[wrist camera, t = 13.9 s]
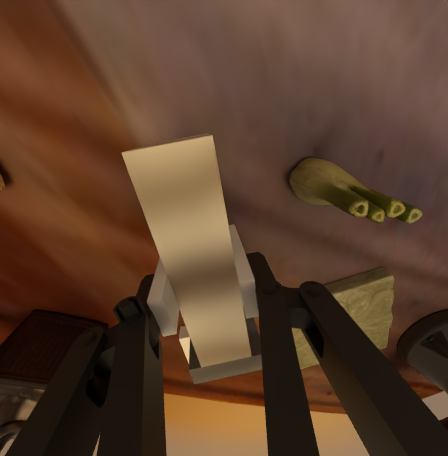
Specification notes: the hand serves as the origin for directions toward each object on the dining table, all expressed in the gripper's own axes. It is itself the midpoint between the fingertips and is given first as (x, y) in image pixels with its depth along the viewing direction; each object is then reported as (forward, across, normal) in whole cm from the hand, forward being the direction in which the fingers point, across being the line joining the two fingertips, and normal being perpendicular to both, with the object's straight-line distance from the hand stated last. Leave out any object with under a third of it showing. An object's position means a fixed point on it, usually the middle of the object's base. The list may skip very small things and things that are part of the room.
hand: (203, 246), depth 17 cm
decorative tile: (+10, +17, -26) cm, 33 cm away
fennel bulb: (+10, +13, +1) cm, 16 cm away
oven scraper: (0, 0, 0) cm, 0 cm away
